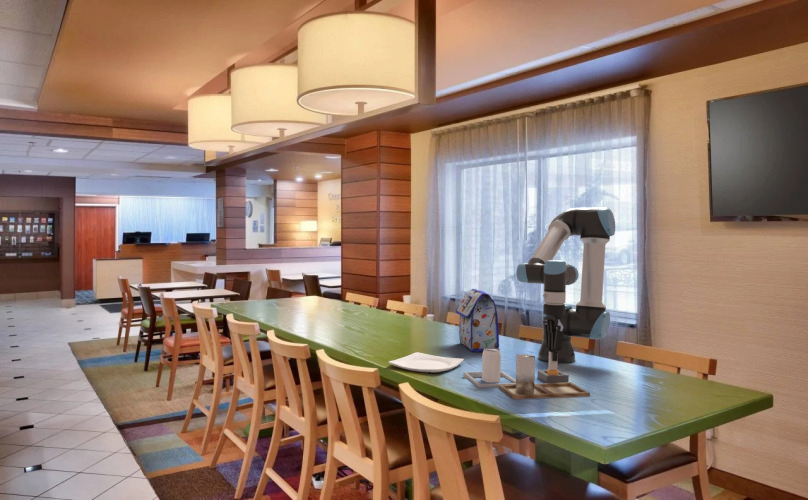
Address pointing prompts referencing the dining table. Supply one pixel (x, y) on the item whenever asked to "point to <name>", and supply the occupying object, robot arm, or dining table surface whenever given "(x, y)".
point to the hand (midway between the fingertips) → (552, 369)
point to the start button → (552, 372)
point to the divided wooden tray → (547, 391)
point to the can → (491, 365)
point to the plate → (426, 363)
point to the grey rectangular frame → (479, 374)
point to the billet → (525, 374)
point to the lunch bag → (478, 321)
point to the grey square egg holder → (553, 377)
